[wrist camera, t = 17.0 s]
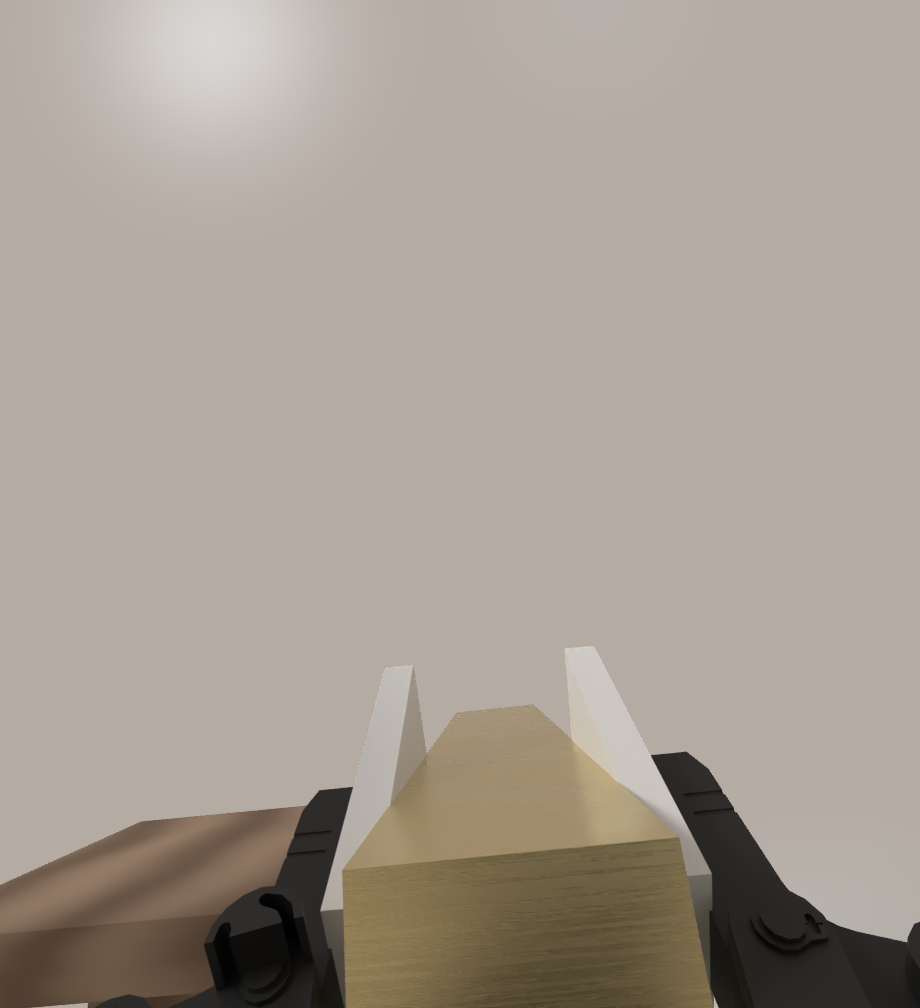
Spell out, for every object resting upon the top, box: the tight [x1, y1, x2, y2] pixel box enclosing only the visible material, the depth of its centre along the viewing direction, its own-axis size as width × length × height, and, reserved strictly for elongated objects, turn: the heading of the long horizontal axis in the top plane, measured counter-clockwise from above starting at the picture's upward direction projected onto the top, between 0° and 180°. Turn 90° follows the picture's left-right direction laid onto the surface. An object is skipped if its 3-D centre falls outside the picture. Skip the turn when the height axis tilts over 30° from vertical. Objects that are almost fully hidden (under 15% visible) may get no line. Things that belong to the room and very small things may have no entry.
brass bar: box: [342, 705, 713, 1008], centre depth 16 cm, size 4×22×3 cm, turn 177°
